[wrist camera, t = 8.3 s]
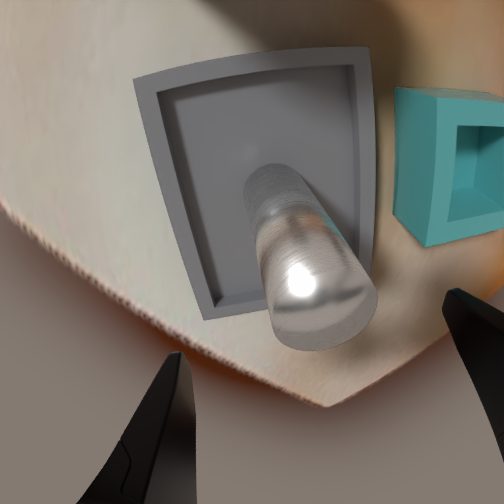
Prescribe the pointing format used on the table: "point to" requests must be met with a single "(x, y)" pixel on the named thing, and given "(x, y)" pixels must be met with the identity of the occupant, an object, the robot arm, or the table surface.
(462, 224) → the teal square open box
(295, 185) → the steel pin
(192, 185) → the charcoal tray
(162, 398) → the robot arm
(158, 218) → the table surface
